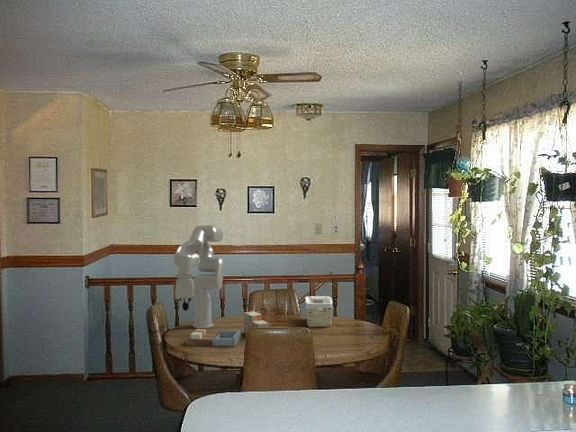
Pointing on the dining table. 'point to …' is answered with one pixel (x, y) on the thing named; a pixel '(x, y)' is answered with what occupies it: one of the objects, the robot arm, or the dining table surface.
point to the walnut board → (201, 340)
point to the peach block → (201, 331)
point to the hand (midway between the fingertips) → (185, 310)
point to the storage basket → (319, 311)
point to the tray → (227, 338)
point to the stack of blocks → (253, 321)
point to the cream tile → (196, 335)
